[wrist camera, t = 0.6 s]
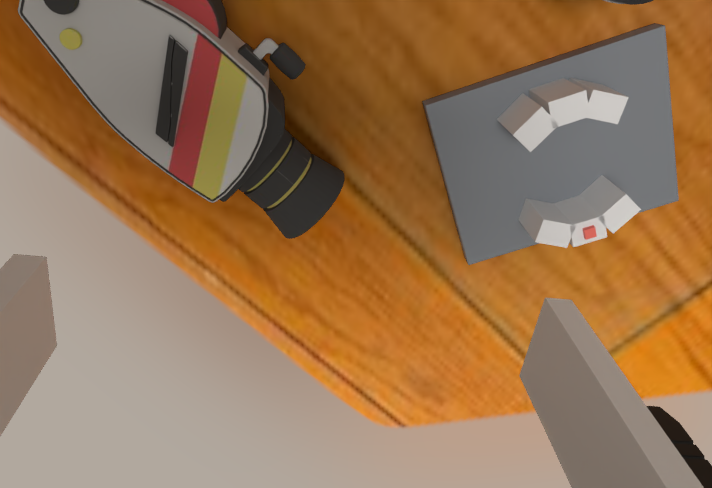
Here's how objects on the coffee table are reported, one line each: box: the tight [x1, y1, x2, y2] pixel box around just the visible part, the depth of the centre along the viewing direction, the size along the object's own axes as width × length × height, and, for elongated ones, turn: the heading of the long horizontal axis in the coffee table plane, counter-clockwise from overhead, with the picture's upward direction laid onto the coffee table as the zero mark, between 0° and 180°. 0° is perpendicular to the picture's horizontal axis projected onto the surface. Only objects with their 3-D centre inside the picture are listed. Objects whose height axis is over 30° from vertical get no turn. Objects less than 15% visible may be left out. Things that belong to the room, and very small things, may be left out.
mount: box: [422, 23, 679, 265], centre depth 38 cm, size 12×15×5 cm
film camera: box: [18, 0, 344, 238], centre depth 33 cm, size 7×19×15 cm
